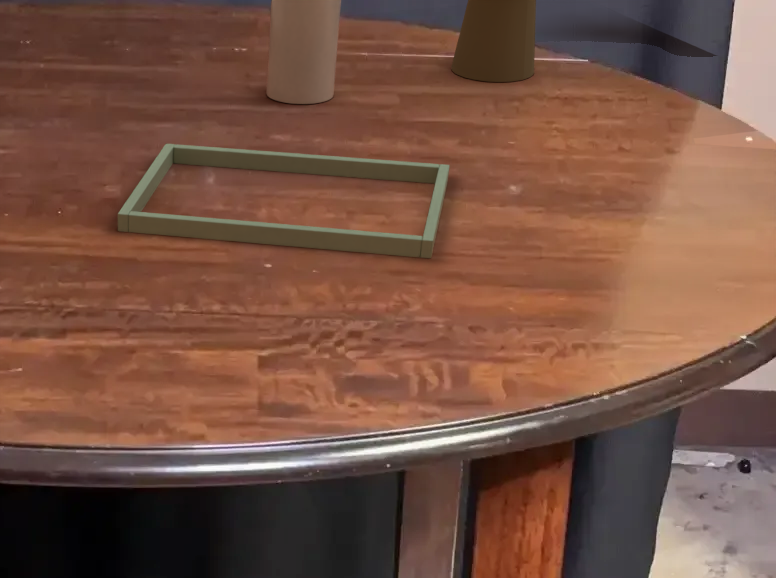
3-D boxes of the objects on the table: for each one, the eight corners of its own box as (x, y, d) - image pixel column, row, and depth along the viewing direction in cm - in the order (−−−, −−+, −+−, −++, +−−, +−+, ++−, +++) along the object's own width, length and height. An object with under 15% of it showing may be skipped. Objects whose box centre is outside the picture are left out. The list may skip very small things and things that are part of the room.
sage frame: (445, 199, 90) (449, 164, 89) (428, 278, 81) (433, 240, 80) (165, 176, 94) (165, 143, 93) (117, 249, 84) (117, 213, 83)
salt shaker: (338, 86, 109) (350, -76, 103) (329, 106, 105) (342, -61, 99) (272, 82, 110) (280, -79, 104) (261, 101, 106) (269, -65, 100)
